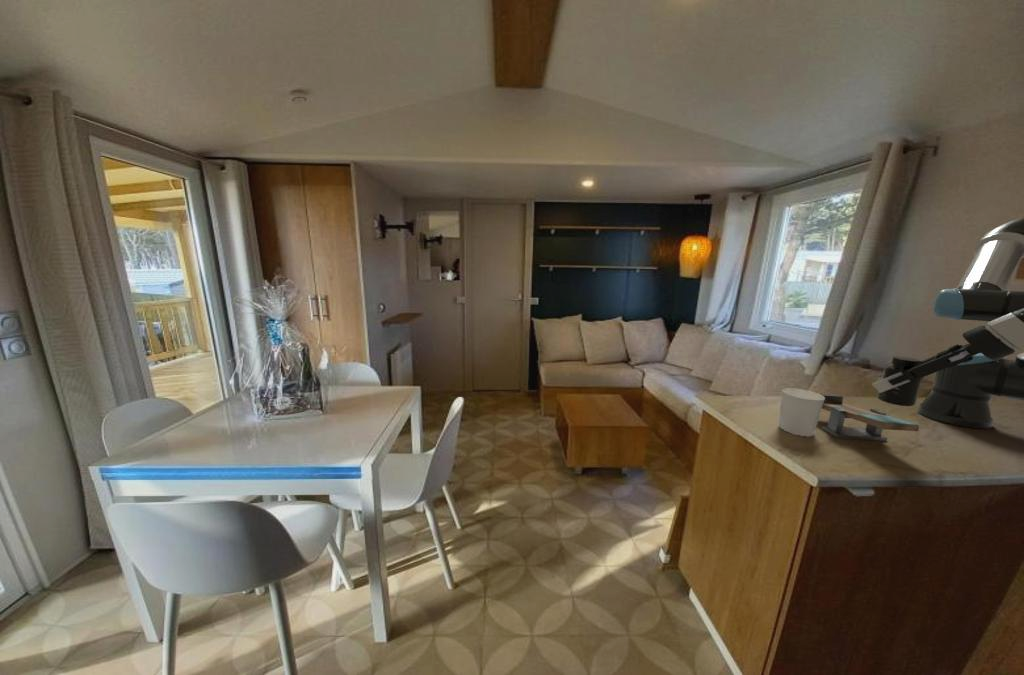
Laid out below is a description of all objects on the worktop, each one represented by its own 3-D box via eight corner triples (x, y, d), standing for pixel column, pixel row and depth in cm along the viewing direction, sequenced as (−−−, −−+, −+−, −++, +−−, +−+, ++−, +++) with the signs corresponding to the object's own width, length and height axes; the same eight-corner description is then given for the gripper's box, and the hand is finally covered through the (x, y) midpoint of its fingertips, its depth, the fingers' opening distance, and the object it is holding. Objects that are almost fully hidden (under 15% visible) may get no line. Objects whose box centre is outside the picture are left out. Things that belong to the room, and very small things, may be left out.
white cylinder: (817, 430, 103) (825, 393, 101) (816, 441, 96) (824, 402, 94) (777, 420, 110) (783, 385, 107) (774, 430, 102) (780, 393, 100)
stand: (867, 431, 102) (873, 407, 101) (886, 441, 97) (893, 415, 95) (821, 428, 104) (826, 404, 102) (837, 438, 98) (843, 412, 96)
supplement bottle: (878, 402, 89) (888, 358, 86) (875, 395, 94) (885, 354, 91) (918, 409, 84) (930, 363, 82) (912, 401, 89) (924, 358, 87)
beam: (836, 408, 111) (838, 394, 111) (919, 433, 86) (921, 416, 86) (808, 406, 112) (809, 392, 112) (882, 431, 87) (884, 414, 87)
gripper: (1018, 357, 68) (883, 405, 84) (1017, 346, 78) (898, 391, 95) (981, 327, 71) (858, 380, 87) (985, 321, 82) (875, 368, 98)
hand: (879, 385), depth 91 cm, fingers closed on supplement bottle, 7 cm apart
